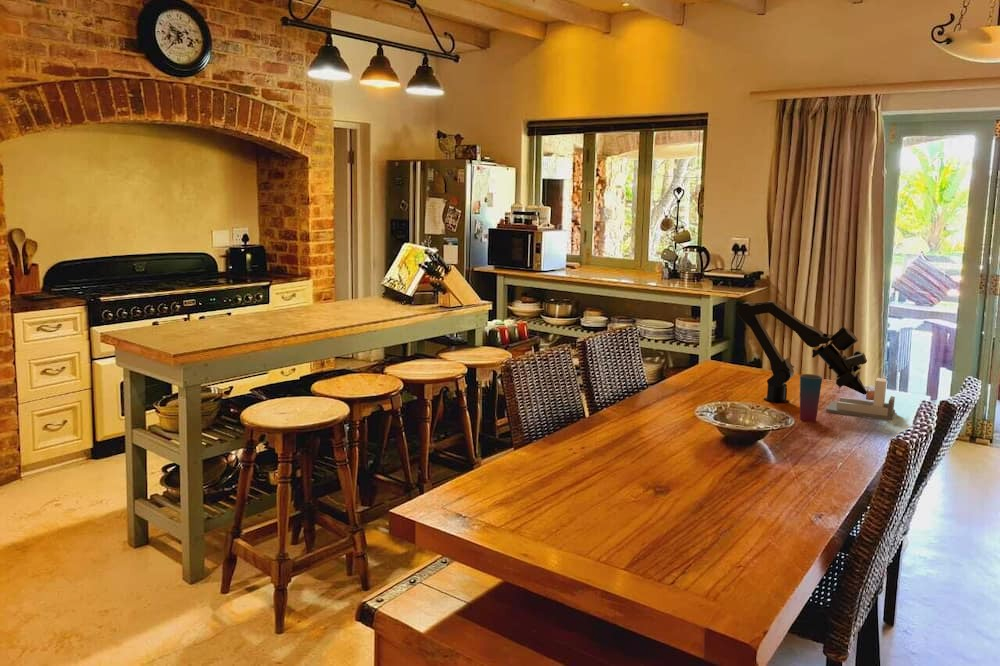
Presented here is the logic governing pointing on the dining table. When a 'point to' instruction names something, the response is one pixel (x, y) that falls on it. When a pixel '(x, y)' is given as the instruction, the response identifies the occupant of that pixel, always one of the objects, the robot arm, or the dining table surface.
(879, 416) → the station
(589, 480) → the dining table surface
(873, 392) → the plug
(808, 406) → the cup
